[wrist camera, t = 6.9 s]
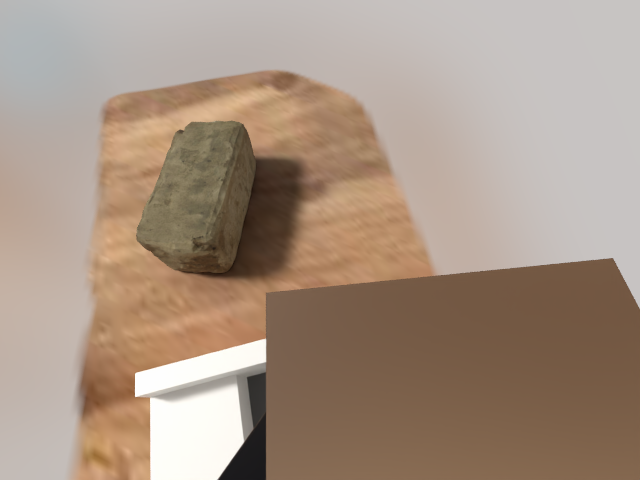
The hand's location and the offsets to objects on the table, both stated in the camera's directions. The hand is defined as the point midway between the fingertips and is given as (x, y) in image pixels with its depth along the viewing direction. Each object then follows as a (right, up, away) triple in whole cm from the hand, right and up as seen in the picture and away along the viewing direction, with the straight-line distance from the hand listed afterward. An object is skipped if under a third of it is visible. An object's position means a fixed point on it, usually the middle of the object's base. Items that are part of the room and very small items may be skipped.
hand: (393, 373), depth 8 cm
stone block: (-10, +6, +19) cm, 23 cm away
